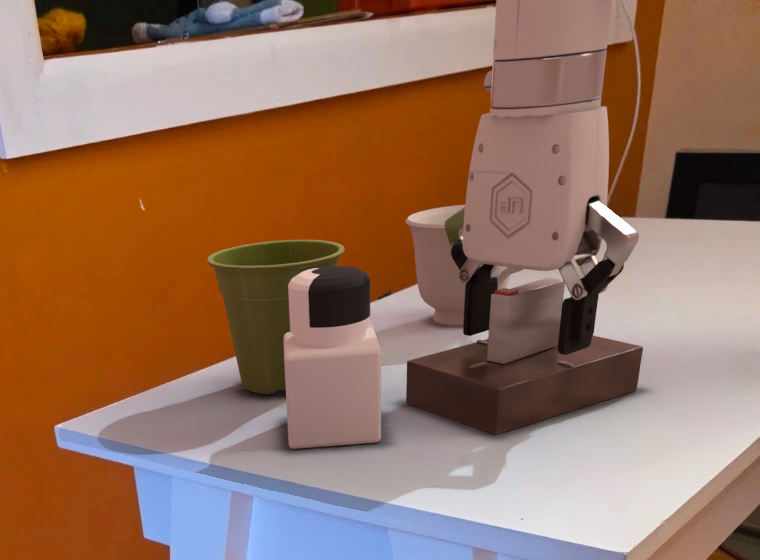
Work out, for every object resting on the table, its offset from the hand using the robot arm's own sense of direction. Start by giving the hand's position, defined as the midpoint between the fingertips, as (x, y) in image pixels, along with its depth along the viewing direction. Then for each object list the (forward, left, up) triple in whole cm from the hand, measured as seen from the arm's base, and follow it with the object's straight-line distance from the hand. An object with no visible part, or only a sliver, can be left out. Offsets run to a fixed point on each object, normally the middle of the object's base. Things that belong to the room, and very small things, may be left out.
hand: (524, 340), depth 77 cm
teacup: (-14, -22, -5) cm, 26 cm away
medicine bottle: (+16, -4, -5) cm, 17 cm away
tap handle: (0, 0, -1) cm, 1 cm away
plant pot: (+12, -18, -5) cm, 22 cm away
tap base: (0, 0, -4) cm, 4 cm away
